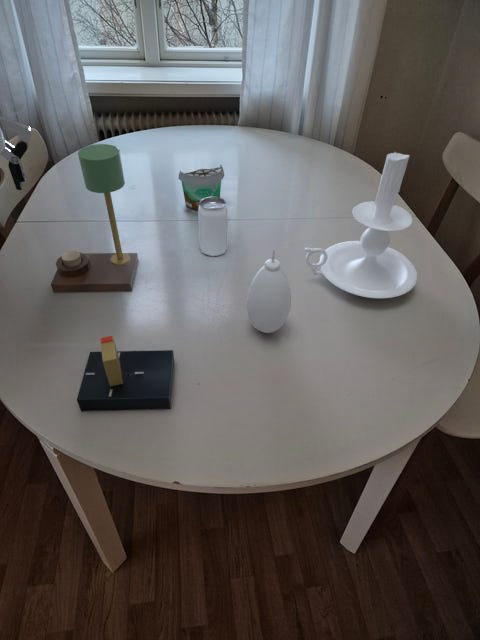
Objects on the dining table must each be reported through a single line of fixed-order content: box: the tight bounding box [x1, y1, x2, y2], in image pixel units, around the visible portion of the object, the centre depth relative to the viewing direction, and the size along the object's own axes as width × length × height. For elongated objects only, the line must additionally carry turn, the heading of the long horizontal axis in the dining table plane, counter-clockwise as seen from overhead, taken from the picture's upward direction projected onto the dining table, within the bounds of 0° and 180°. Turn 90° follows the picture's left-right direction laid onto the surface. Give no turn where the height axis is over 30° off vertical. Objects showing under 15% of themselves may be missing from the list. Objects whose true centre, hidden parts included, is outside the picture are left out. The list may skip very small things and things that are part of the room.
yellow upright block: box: [99, 335, 123, 387], centre depth 67 cm, size 5×2×6 cm, turn 18°
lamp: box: [77, 143, 130, 266], centre depth 82 cm, size 7×7×23 cm
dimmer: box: [76, 349, 175, 412], centre depth 70 cm, size 14×10×3 cm
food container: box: [178, 163, 225, 212], centre depth 112 cm, size 12×6×10 cm, turn 114°
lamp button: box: [61, 250, 82, 267], centre depth 89 cm, size 4×4×2 cm
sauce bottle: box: [246, 249, 292, 334], centre depth 76 cm, size 8×8×18 cm
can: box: [197, 197, 228, 257], centre depth 97 cm, size 6×6×12 cm
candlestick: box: [304, 151, 418, 299], centre depth 85 cm, size 21×25×28 cm
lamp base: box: [50, 251, 139, 293], centre depth 91 cm, size 16×11×4 cm
